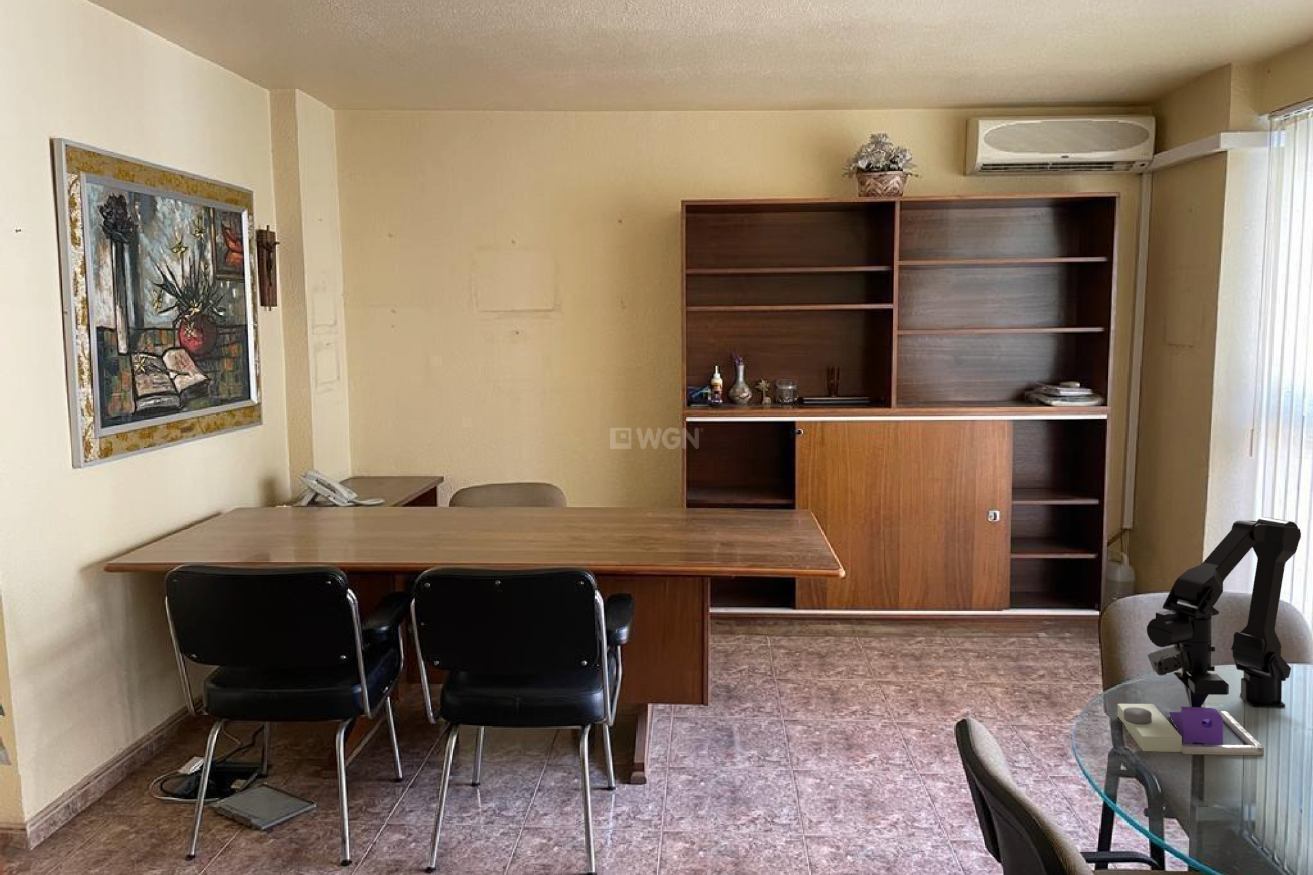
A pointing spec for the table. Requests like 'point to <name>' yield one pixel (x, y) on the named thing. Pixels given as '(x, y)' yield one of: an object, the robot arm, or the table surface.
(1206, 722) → the bracket
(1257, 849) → the table surface
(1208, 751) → the cream railed tray
